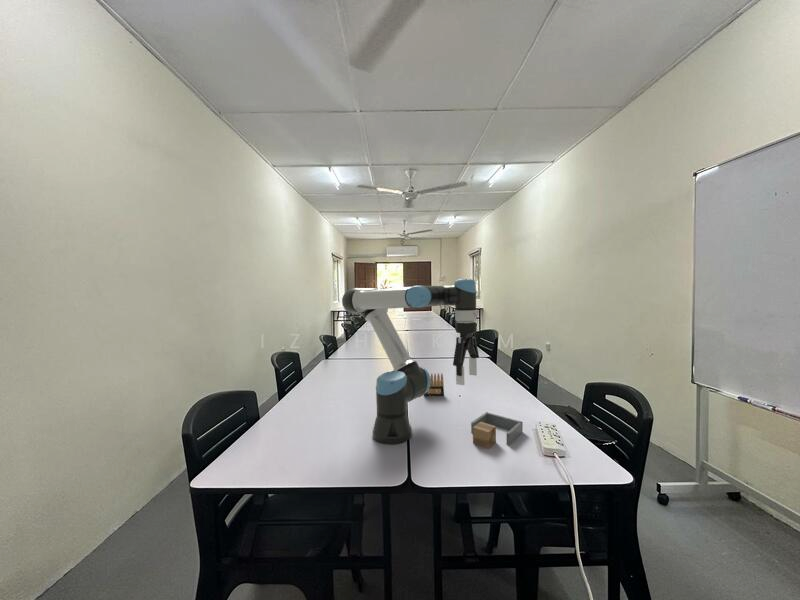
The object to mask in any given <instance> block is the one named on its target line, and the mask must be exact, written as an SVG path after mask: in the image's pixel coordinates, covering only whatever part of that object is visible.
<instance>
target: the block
mask: <svg viewBox="0 0 800 600" xmlns="http://www.w3.org/2000/svg"><path fill="white" fill-rule="evenodd" d="M496 443H497V426H496V425H493V424H489V423H483V422H480V423H478V424H477V425H475V426H474V427H473V433H472V444H475V446H476V445H477V446H479V447H482V448H485V449H488V450H489V449H490V448H492V446H494V445H495V444H496Z"/></svg>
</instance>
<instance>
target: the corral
mask: <svg viewBox="0 0 800 600" xmlns="http://www.w3.org/2000/svg"><path fill="white" fill-rule="evenodd" d="M480 422H483V423H487V424H490V425H493V426H496V427H500V428H504V429H507V430H508V431H507V432H506V445H508V446H510V445H511V444H512V443H513V442H514V441H516V439H517V438H518V437H519V436H520V435H522V433H523V427H524V426H523V425H524V424H523V421H521V420H518V419H514V418H510V417H506V416H503V415H502V416H501V415H498V414H494V413H490V412H487V411H486V412H484V413H483V414H481V415H480V416H478V417H477V418H475V419H474V420H473V421H471V423H470V426H471V427H470V428H471V429H470V430H471V431H470V433H472V434H473V427H474V426H475V425H477V424H478V423H480Z"/></svg>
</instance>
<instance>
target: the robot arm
mask: <svg viewBox="0 0 800 600" xmlns="http://www.w3.org/2000/svg"><path fill="white" fill-rule="evenodd" d="M476 288H477V285H476V281H475V280H474V279H471V278H470V279H469V278H468V279H464V278H463V279H456V280H455V281H454V284H453V285H413V286H404V287H397V288H396V287H395V288H384V289H381V288H378V287H366V288H365V287H354V288H350V289H348V290H347V291H345V292H344V294H343V295H342V298H341V304H342V307H343V309H344V310H345V311H346V312H347V313H349V314H352V315H360V314H361V315H362V317H364V319H365V321H366V322H369V323H370V324H371V326H372V328H373V331H374V332H375V334H376V336H377V338H378V340H379V342H380V345H381V347H382V348H383V350H384V352H385V354H386V356H387V358H388V360H389V362H390V364H391V366H392V368H393V370H391V371H386V372H382V373H381V374H380V375H379V376H378V377H377V378H376V386H375V394H376V395H375V396H376V399H375V400H376V416H375V421H374V424H373V427H372V438H373V440H375V441H376V442H378V443H380V444H385V445H397V444H402V443H405V442H407V441H409V440H410V439H411V438H412V435H413V432H412V431H413V429H412V426H411V424H410V420H409V416H408V404H407V403H409V402H412V401H414V400H416V399H418V398H421V397H422V396H423V397H424V394H425V393H426V392H427V391H428V390H429V388H430V384H431V374H430V373H429V371H428V370H427V369H426V368H425V367H422V366H419V363H418V362H417V360H415V359H412V358H411V356H410V354H409V353H408V350H407V348H406V346H405V345H404V343H403V341H402V339H401V337H400V335H399V334H398V332H397V329H396V327H395V326H394V323H393V322H392V320H391V318H390V317H389V314H388V311H389V309H405V308H406V309H407V308H416V309H419V308H420V309H421V308H427V307H429V308H430V307H438V306H439V307H440V306H454V309H455V311H454V313H455V314H454V315H455V317H454V318H455V332H456V333H458V334H459V336H456V339H455V349H454V357H453V361H452V362H453V363H452V366H454V367H455V379H456V380H455V382H456V383H455V384H456V385H459V386H465V366H464V362H465V358H466V354H467V352H468V355H469V358H468V364H469V365H468V368H469V369H468V371H469V372H468V373H469V376H477V375H478V368H477V367H478V364H477V361H478V360H477V359H479V358H480V355H479V349H478V344H477V339H476V333H477V331H478V327H477V322H476V321H477V316H478V314H479V313H478V312H477V289H476Z"/></svg>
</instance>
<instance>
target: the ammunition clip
mask: <svg viewBox="0 0 800 600" xmlns="http://www.w3.org/2000/svg"><path fill="white" fill-rule="evenodd" d="M433 375H434V376H433ZM430 378H431V384H430V388H429V390H428V391H427V392H426V393H425V394H424V395H423V397H444V396H445V389H444V387H445V386H444V375H443V373H442V372H441V374H440V373H434V374H433V373H430Z"/></svg>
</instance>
